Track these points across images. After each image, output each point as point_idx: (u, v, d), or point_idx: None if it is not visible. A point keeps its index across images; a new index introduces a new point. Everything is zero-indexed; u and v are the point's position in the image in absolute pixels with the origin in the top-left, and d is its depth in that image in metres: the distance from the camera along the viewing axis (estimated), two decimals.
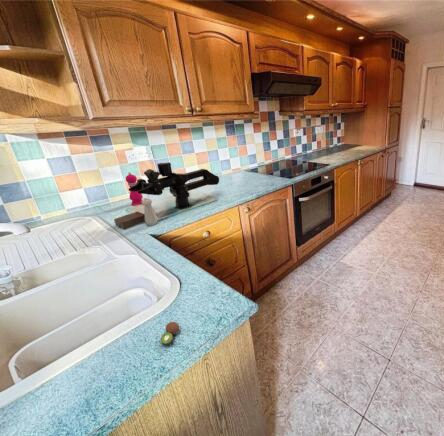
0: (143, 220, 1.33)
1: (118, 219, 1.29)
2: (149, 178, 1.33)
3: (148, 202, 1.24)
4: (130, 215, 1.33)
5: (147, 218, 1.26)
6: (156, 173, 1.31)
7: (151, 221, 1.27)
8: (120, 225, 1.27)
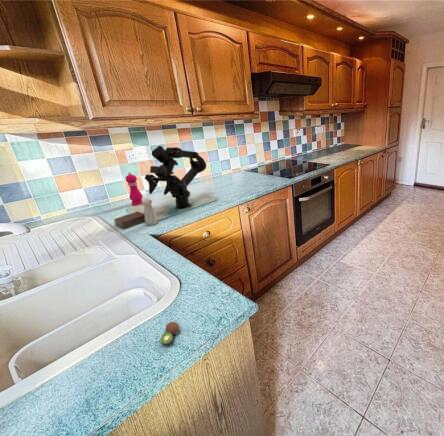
0: (143, 220, 1.33)
1: (118, 219, 1.29)
2: (157, 173, 1.32)
3: (148, 202, 1.24)
4: (130, 215, 1.33)
5: (147, 218, 1.26)
6: (163, 167, 1.28)
7: (151, 221, 1.27)
8: (120, 225, 1.27)
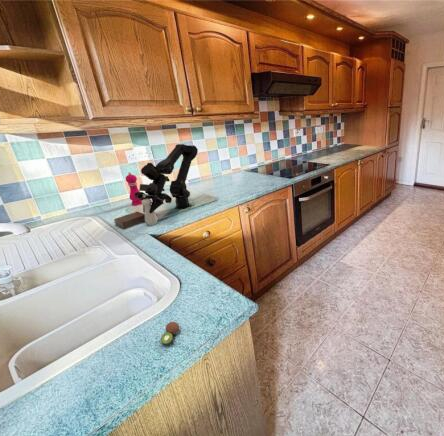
0: (143, 220, 1.33)
1: (118, 219, 1.29)
2: (147, 191, 1.27)
3: (148, 202, 1.24)
4: (130, 215, 1.33)
5: (147, 218, 1.26)
6: (152, 185, 1.23)
7: (151, 221, 1.27)
8: (120, 225, 1.27)
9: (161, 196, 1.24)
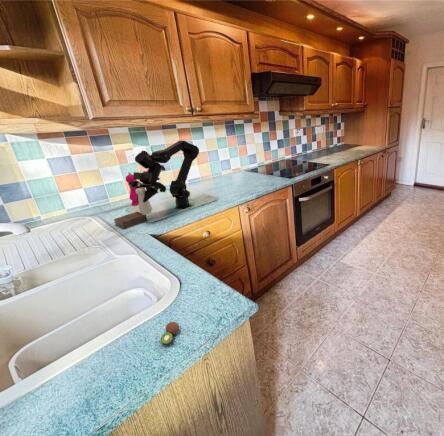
0: (143, 220, 1.33)
1: (118, 219, 1.29)
2: (141, 179, 1.24)
3: (142, 191, 1.22)
4: (130, 215, 1.33)
5: (141, 207, 1.24)
6: (146, 174, 1.21)
7: (145, 210, 1.25)
8: (120, 225, 1.27)
9: (155, 185, 1.21)
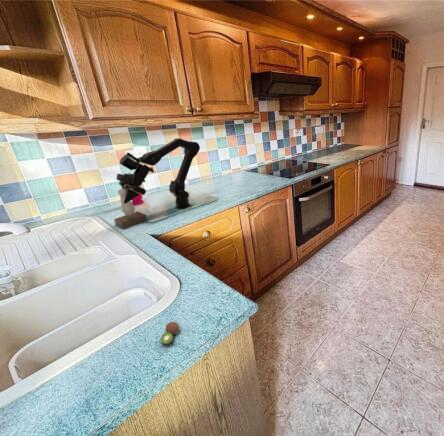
0: (143, 220, 1.33)
1: (118, 219, 1.29)
2: None
3: (122, 192, 1.25)
4: (130, 215, 1.33)
5: (122, 207, 1.27)
6: (126, 176, 1.22)
7: (125, 211, 1.28)
8: (120, 225, 1.27)
9: (132, 187, 1.22)
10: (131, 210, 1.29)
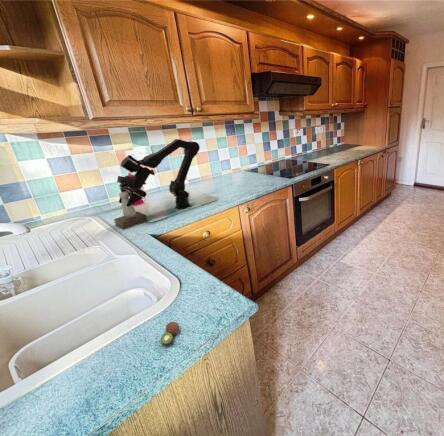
0: (143, 220, 1.33)
1: (118, 219, 1.29)
2: None
3: (123, 195, 1.25)
4: None
5: (123, 210, 1.28)
6: (126, 178, 1.23)
7: (126, 214, 1.28)
8: (120, 225, 1.27)
9: (133, 190, 1.22)
10: (132, 213, 1.29)
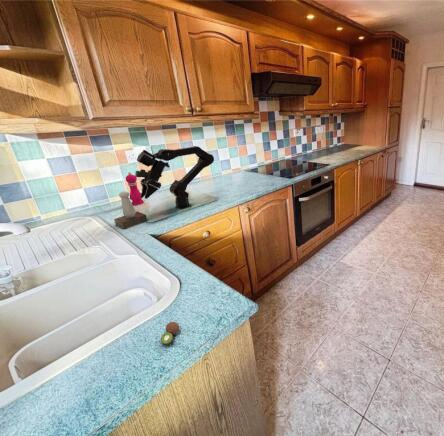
0: (143, 220, 1.33)
1: (118, 219, 1.29)
2: (143, 177, 1.34)
3: (123, 195, 1.25)
4: None
5: (123, 210, 1.28)
6: (141, 171, 1.29)
7: (126, 214, 1.28)
8: (120, 225, 1.27)
9: (147, 181, 1.28)
10: (132, 213, 1.29)
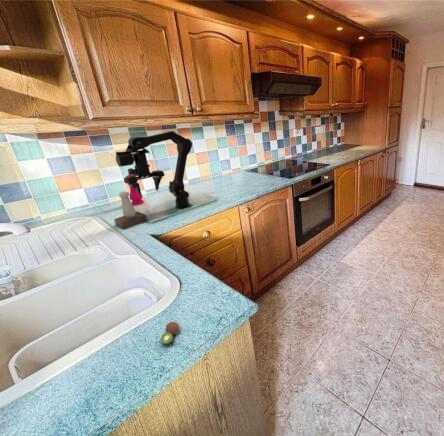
0: (143, 220, 1.33)
1: (118, 219, 1.29)
2: None
3: (123, 195, 1.25)
4: None
5: (123, 210, 1.28)
6: (128, 171, 1.32)
7: (126, 214, 1.28)
8: (120, 225, 1.27)
9: None
10: (132, 213, 1.29)
